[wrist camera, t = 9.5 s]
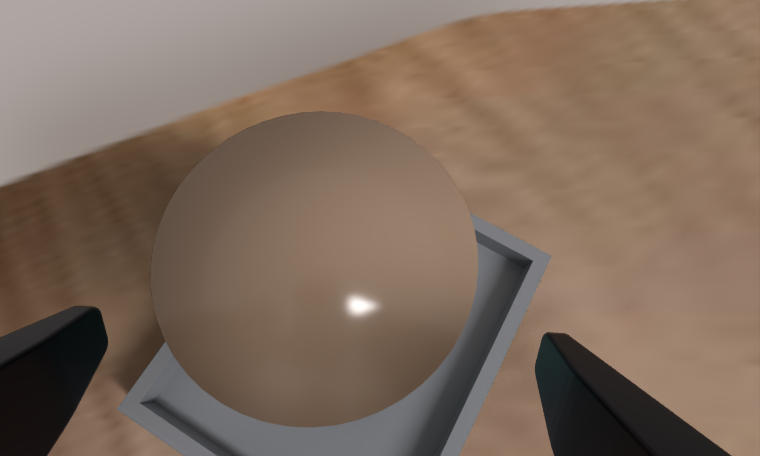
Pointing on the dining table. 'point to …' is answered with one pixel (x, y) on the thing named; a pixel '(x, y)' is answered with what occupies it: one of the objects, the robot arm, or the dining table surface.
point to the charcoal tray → (380, 430)
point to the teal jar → (314, 269)
